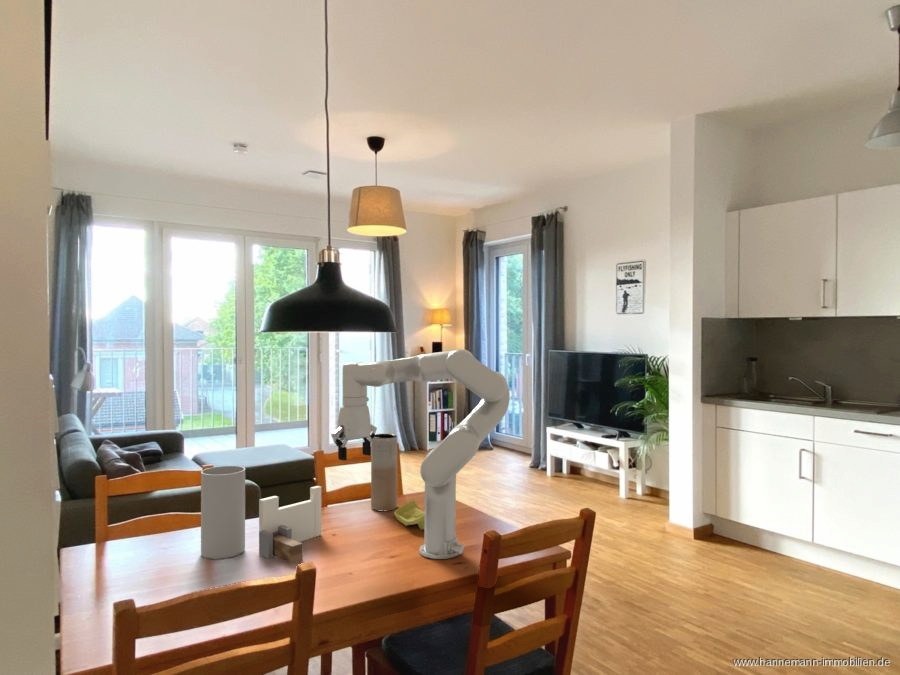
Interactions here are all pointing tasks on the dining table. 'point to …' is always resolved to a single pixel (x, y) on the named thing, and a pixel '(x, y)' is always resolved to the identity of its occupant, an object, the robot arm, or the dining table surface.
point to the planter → (384, 472)
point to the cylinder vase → (222, 512)
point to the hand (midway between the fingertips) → (354, 457)
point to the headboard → (288, 520)
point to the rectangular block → (287, 548)
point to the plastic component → (410, 514)
